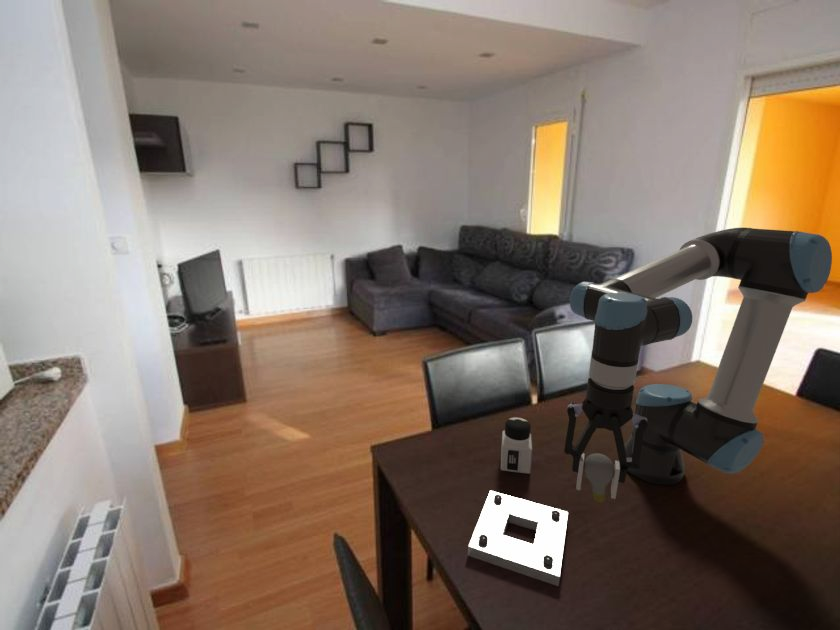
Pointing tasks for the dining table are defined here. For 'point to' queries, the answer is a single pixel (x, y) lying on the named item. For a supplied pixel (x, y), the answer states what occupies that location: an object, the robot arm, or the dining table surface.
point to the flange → (514, 553)
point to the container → (516, 446)
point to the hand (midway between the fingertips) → (595, 489)
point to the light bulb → (598, 474)
